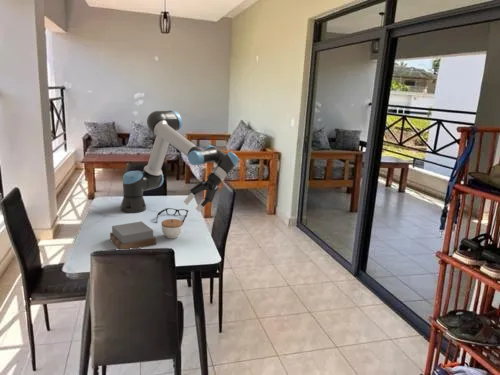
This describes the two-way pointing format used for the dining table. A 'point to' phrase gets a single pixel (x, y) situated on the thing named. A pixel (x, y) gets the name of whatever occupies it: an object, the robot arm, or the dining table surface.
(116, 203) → the dining table surface
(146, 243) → the walnut block
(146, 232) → the charcoal grey block
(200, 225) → the dining table surface
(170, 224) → the lidded jar
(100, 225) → the dining table surface
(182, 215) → the glasses
